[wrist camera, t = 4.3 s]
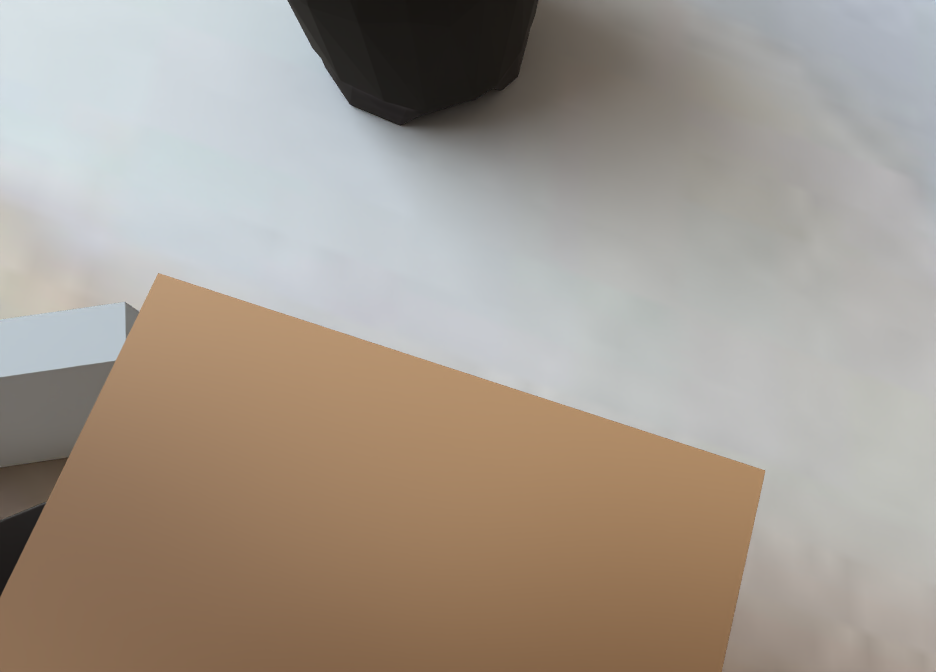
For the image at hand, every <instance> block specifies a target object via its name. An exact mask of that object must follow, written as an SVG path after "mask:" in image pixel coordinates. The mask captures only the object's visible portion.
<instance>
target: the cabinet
mask: <svg viewBox="0 0 936 672" xmlns="http://www.w3.org/2000/svg"><path fill="white" fill-rule="evenodd" d="M764 475H765V470H762V469H759V468H756V467H753V466H750V465H747V464H744V463H740V462H737V461H734V460H731V459H728V458H725V457H722V456H719V455H716V454H713V453H710V452H707V451H704V450H700V449H697V448H694V447H691V446H688V445H685V444H682V443H679V442H676V441H673V440H670V439H667V438H664V437H661V436H657V435H654V434H651V433H648V432H645V431H642V430H639V429H636V428H633V427H630V426H627V425H624V424H621V423H617V422H614V421H611V420H608V419H605V418H602V417H599V416H596V415H593V414H590V413H587V412H584V411H581V410H578V409H574V408H571V407H568V406H565V405H562V404H559V403H556V402H553V401H550V400H547V399H544V398H541V397H538V396H534V395H531V394H528V393H525V392H522V391H519V390H516V389H513V388H510V387H507V386H504V385H501V384H498V383H494V382H491V381H488V380H485V379H482V378H479V377H476V376H473V375H470V374H467V373H464V372H461V371H458V370H455V369H451V368H448V367H445V366H442V365H439V364H436V363H433V362H430V361H427V360H424V359H421V358H418V357H415V356H411V355H408V354H405V353H402V352H399V351H396V350H393V349H390V348H387V347H384V346H381V345H378V344H375V343H372V342H368V341H365V340H362V339H359V338H356V337H353V336H350V335H347V334H344V333H341V332H338V331H335V330H332V329H328V328H325V327H322V326H319V325H316V324H313V323H310V322H307V321H304V320H301V319H298V318H295V317H292V316H288V315H285V314H282V313H279V312H276V311H273V310H270V309H267V308H264V307H261V306H258V305H255V304H252V303H249V302H245V301H242V300H239V299H236V298H233V297H230V296H227V295H224V294H221V293H218V292H215V291H212V290H209V289H205V288H202V287H199V286H196V285H193V284H190V283H187V282H184V281H181V280H178V279H175V278H172V277H169V276H166V275H162V274H159V273H158V275H157V277H156V279H155V281H154V283H153V285H152V287H151V289H150V291H149V293H148V295H147V297H146V300H145V302H144V304H143V306H142V308H141V310H140V312H139V314H138V316H137V318H136V320H135V322H134V324H133V326H132V328H131V330H130V332H129V334H128V336H127V338H126V340H125V343H124V345H123V347H122V349H121V351H120V353H119V355H118V357H117V359H116V361H115V363H114V365H113V367H112V369H111V371H110V373H109V375H108V377H107V379H106V381H105V384H104V386H103V388H102V390H101V392H100V394H99V396H98V398H97V400H96V402H95V404H94V406H93V408H92V410H91V412H90V414H89V416H88V418H87V420H86V422H85V424H84V427H83V429H82V431H81V433H80V435H79V437H78V439H77V441H76V443H75V445H74V447H73V449H72V451H71V453H70V455H69V457H68V459H67V461H66V463H65V465H64V467H63V470H62V472H61V474H60V476H59V478H58V480H57V482H56V484H55V486H54V488H53V490H52V492H51V494H50V496H49V498H48V500H47V502H46V504H45V506H44V508H43V510H42V513H41V515H40V517H39V519H38V521H37V523H36V525H35V527H34V529H33V531H32V533H31V535H30V537H29V539H28V541H27V543H26V545H25V547H24V549H23V551H22V553H21V556H20V558H19V560H18V562H17V564H16V566H15V568H14V570H13V572H12V574H11V576H10V578H9V580H8V582H7V584H6V586H5V588H4V590H3V592H2V594H1V596H0V672H722V667H723V663H724V658H725V654H726V649H727V644H728V640H729V635H730V631H731V626H732V621H733V617H734V612H735V608H736V603H737V598H738V594H739V589H740V585H741V580H742V576H743V571H744V566H745V562H746V557H747V553H748V548H749V543H750V539H751V534H752V530H753V525H754V520H755V516H756V511H757V507H758V502H759V497H760V493H761V488H762V484H763V479H764Z"/></svg>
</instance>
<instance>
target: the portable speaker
mask: <svg viewBox="0 0 936 672" xmlns="http://www.w3.org/2000/svg"><path fill="white" fill-rule="evenodd" d="M288 2H289V4H290V6H291V8H292V10H293V12H294V14H295V16H296V17H297V19H298V21H299V23H300V25H301V27H302V29H303V31H304V33H305V35H306V37H307V38H308V40H309V42H310V44H311V46H312V48H313V49H314V50H315V52H316V53H317V54H318V55H319V56H320V57H321V59H322V61H323V63H324V65H325V68H326V69H327V71H328V72H329V74H330V75H331V77H332V78H333V80H334V81H335V83H336V84H337V86H338V87H339V89H340V90H341V92H342V93H343V95H344V96H345V98H346V99H347V101H348V102H349V104H350V105H353V106H355V107H358V108H360V109H363V110H365V111H367V112H370V113H372V114H375V115H377V116H380V117H382V118H384V119H387V120H389V121H392V122H394V123H396V124H399V125H402V124H404V123H406V122H408V121H410V120H412V119H414V118H417V117H419V116H421V115H424V114H427V113H430V112H434V111H437V110H440V109H443V108H447V107H450V106H453V105H457V104H461V103H464V102H468V101H471V100H475V99H476V98H478V97H479V96H481V95H483V94H484V93H486V92H487V91H489V90H491V89H493V88H494V89H498V90H502V89H504V88H505V87H506V86H507V85H508V84H510V83H511V82H512V81H513V80H514V79H516V78H517V77H518V74H519V70H520V66H521V62H522V58H523V55H524V51H525V47H526V43H527V39H528V36H529V31H530V27H531V24H532V22H533V19H534V16H535V13H536V8H537V4H538V0H288Z"/></svg>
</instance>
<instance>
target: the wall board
mask: <svg viewBox="0 0 936 672" xmlns="http://www.w3.org/2000/svg"><path fill="white" fill-rule="evenodd" d="M138 314H139V311H137V310H136V309H135V308H133V307H132V306H130V305H129V304H127V303H126V302H121V303H114V304H107V305H100V306H93V307H86V308H79V309H72V310H65V311H58V312H51V313H44V314H37V315H30V316H23V317H16V318H9V319H1V320H0V467H7V466H14V465H20V464H27V463H34V462H41V461H47V460H54V459H61V458H68V457H69V455H70V453H71V451H72V449H73V447H74V445H75V443H76V441H77V439H78V437H79V435H80V433H81V431H82V429H83V427H84V424H85V422H86V420H87V418H88V416H89V414H90V412H91V410H92V408H93V406H94V404H95V402H96V400H97V398H98V396H99V394H100V392H101V390H102V388H103V386H104V384H105V381H106V379H107V377H108V375H109V373H110V371H111V369H112V367H113V365H114V363H115V361H116V359H117V357H118V355H119V353H120V351H121V349H122V347H123V345H124V343H125V340H126V338H127V336H128V334H129V332H130V330H131V328H132V326H133V324H134V322H135V320H136V318H137V316H138Z"/></svg>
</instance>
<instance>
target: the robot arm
mask: <svg viewBox="0 0 936 672" xmlns="http://www.w3.org/2000/svg"><path fill="white" fill-rule="evenodd" d="M45 504H46V502H45V503H42V504H40V505H37V506H35V507H32V508H30V509H27V510H25V511H22V512H20V513H17V514H15V515H12V516H10V517H7V518H5V519H2V520H0V596H1V594H2V592H3V590H4V588H5V586H6V584H7V582H8V580H9V578H10V576H11V574H12V572H13V570H14V568H15V566H16V564H17V562H18V560H19V558H20V556H21V553H22V551H23V549H24V547H25V545H26V543H27V541H28V539H29V537H30V535H31V533H32V531H33V529H34V527H35V525H36V523H37V521H38V519H39V517H40V515H41V513H42V510H43V508H44V506H45Z"/></svg>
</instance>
